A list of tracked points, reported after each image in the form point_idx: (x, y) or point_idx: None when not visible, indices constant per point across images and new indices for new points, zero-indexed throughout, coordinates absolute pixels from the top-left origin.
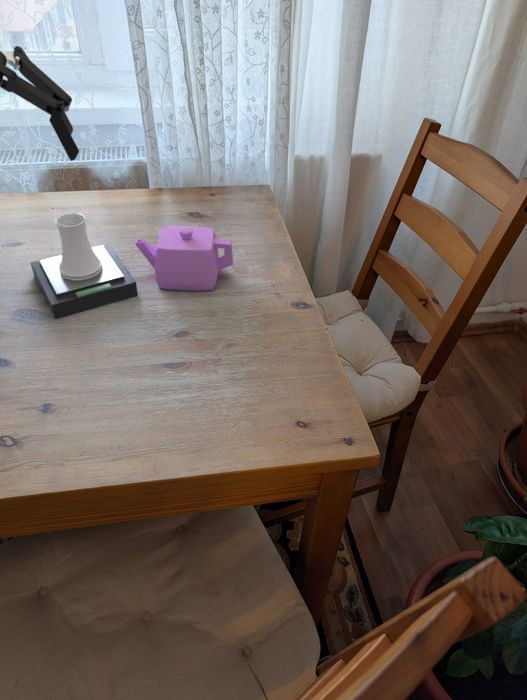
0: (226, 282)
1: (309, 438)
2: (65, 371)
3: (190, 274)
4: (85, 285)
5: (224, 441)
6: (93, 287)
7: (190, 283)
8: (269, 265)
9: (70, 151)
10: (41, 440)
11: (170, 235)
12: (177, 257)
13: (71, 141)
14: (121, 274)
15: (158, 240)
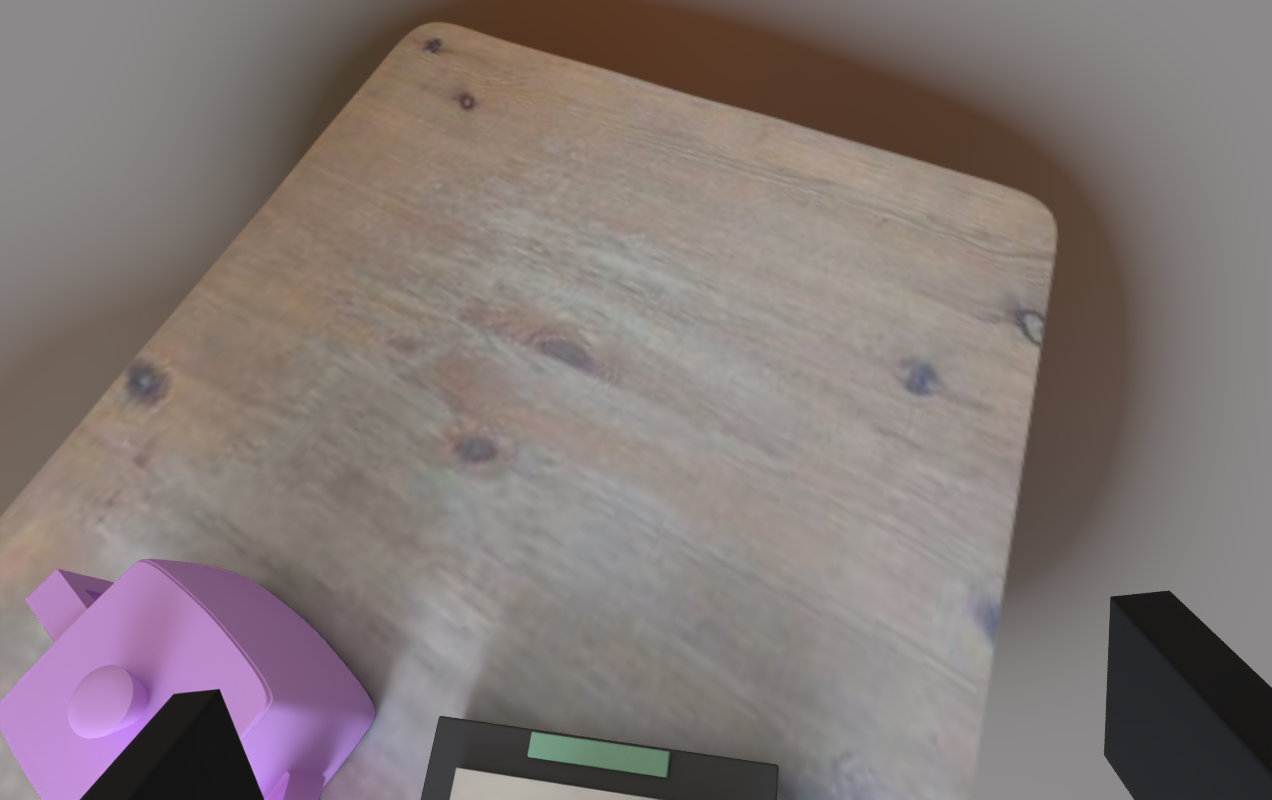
0: None
1: (481, 74)
2: (833, 483)
3: (270, 607)
4: (613, 798)
5: (613, 129)
6: (588, 784)
7: (294, 613)
8: (17, 607)
9: (219, 784)
10: (958, 293)
11: None
12: (251, 632)
13: (129, 768)
14: (456, 786)
15: None
